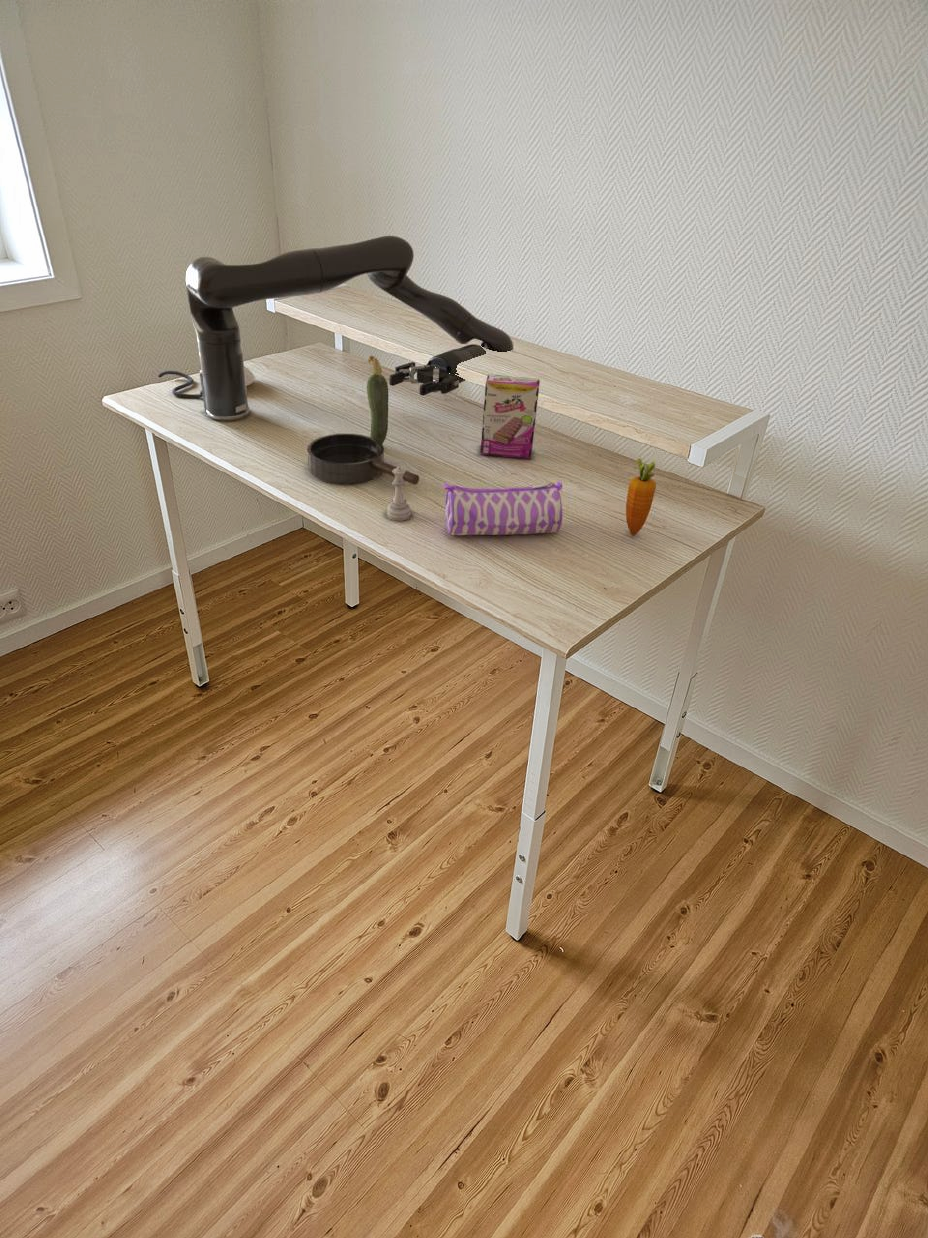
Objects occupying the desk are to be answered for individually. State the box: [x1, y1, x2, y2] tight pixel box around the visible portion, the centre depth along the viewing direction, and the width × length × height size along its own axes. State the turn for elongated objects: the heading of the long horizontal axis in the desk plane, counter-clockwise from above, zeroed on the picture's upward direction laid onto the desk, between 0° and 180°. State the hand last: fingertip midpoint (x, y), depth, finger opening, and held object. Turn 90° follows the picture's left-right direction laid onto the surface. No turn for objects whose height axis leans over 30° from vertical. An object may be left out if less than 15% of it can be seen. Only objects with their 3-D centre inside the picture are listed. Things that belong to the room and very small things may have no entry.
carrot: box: [625, 457, 657, 536], centre depth 148 cm, size 5×5×15 cm
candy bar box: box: [480, 374, 541, 460], centre depth 175 cm, size 11×5×16 cm, turn 84°
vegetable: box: [366, 355, 389, 445], centre depth 173 cm, size 4×4×20 cm
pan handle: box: [371, 459, 420, 486], centre depth 162 cm, size 11×2×2 cm, turn 53°
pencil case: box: [442, 480, 563, 536], centre depth 149 cm, size 22×9×10 cm, turn 102°
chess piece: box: [386, 465, 412, 522], centre depth 152 cm, size 4×4×10 cm
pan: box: [306, 432, 385, 485], centre depth 169 cm, size 15×15×4 cm
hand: (405, 385), depth 178 cm, fingers open, 8 cm apart
